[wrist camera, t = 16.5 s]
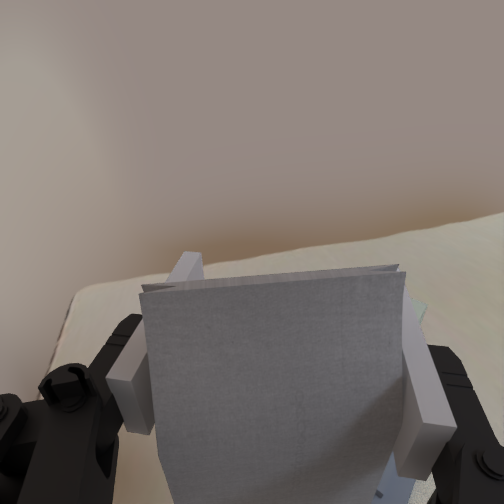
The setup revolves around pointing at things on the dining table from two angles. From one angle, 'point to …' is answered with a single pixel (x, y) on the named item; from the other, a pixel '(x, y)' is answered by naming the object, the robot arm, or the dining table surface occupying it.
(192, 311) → the tea bag
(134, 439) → the dining table surface
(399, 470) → the robot arm
